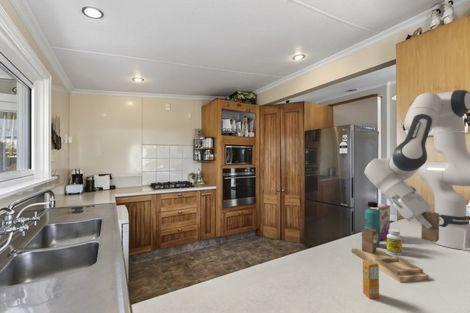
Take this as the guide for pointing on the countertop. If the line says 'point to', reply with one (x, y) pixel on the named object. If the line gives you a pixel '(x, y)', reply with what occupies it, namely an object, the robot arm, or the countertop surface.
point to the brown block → (433, 231)
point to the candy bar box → (384, 219)
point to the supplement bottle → (394, 242)
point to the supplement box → (371, 279)
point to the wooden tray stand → (387, 259)
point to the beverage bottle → (373, 219)
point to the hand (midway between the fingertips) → (432, 225)
